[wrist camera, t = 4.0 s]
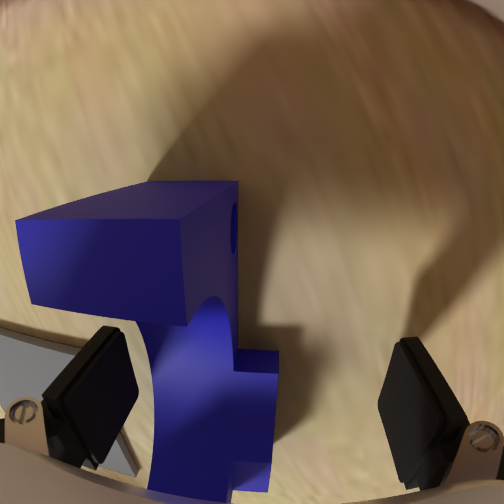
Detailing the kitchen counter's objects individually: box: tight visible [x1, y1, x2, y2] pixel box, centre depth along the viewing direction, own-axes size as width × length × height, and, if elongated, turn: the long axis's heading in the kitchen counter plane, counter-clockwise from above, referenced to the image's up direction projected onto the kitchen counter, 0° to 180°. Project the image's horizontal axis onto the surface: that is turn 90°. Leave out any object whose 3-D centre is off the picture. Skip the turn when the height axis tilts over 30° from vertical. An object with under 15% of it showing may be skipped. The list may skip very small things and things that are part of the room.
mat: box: [0, 328, 139, 477], centre depth 13 cm, size 11×10×1 cm
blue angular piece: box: [15, 181, 279, 503], centre depth 8 cm, size 12×4×6 cm, turn 179°
